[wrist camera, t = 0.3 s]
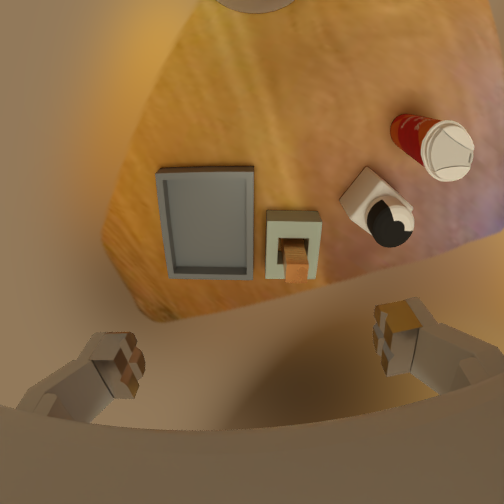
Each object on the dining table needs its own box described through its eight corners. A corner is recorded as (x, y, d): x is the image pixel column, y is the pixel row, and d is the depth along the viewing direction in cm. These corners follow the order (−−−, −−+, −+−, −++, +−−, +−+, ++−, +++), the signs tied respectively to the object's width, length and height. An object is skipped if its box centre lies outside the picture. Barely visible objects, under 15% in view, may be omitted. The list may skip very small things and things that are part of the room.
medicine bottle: (369, 223, 51) (395, 262, 40) (337, 200, 49) (359, 235, 39) (396, 191, 48) (429, 223, 37) (365, 165, 46) (395, 192, 35)
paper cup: (430, 112, 41) (482, 130, 29) (422, 158, 45) (470, 189, 33) (386, 102, 41) (431, 115, 29) (379, 151, 45) (420, 180, 32)
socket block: (266, 210, 50) (267, 221, 46) (317, 211, 50) (322, 222, 46) (265, 265, 55) (265, 278, 52) (311, 265, 55) (315, 278, 51)
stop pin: (281, 230, 52) (286, 264, 43) (300, 230, 52) (308, 264, 43) (280, 247, 53) (285, 282, 45) (299, 247, 53) (306, 282, 45)
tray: (160, 167, 47) (155, 173, 44) (253, 166, 46) (253, 171, 44) (172, 268, 56) (168, 278, 53) (253, 269, 56) (252, 280, 53)
